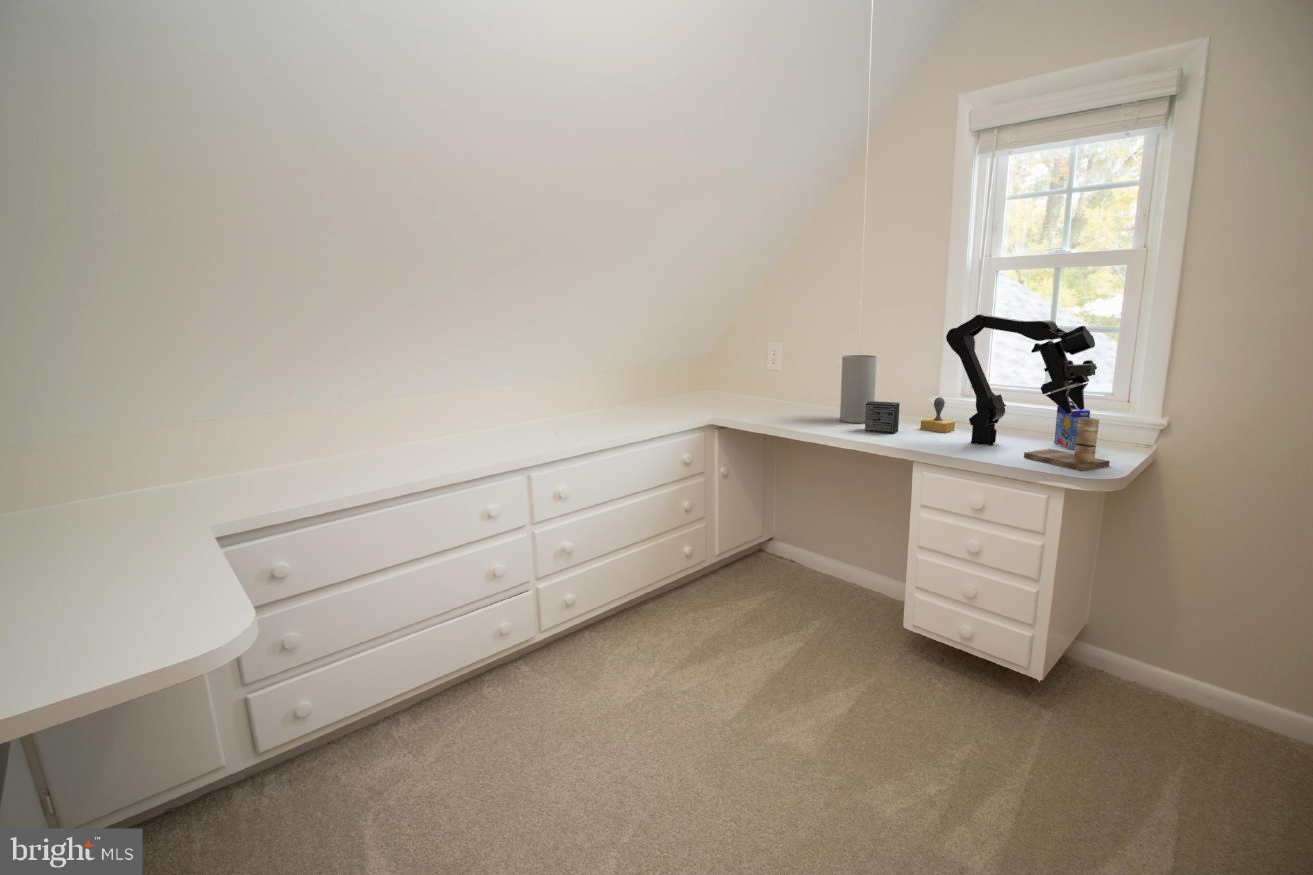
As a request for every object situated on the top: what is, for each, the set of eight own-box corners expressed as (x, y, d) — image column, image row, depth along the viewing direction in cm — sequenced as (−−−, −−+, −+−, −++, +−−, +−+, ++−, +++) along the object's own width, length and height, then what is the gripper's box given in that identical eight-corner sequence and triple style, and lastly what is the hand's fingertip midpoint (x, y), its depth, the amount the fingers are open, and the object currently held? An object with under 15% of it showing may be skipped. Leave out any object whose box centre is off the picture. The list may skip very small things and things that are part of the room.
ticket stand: (1023, 457, 190) (1025, 437, 189) (1049, 453, 194) (1051, 433, 193) (1082, 471, 174) (1085, 449, 173) (1109, 466, 179) (1111, 444, 177)
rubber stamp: (954, 431, 229) (957, 397, 226) (945, 433, 225) (947, 399, 223) (929, 427, 237) (931, 394, 234) (919, 429, 233) (921, 396, 231)
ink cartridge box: (1052, 442, 208) (1057, 398, 205) (1070, 442, 207) (1075, 398, 204) (1068, 449, 198) (1073, 403, 195) (1087, 449, 198) (1093, 402, 195)
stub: (1075, 442, 180) (1078, 418, 178) (1081, 441, 181) (1084, 417, 179) (1090, 445, 176) (1093, 420, 175) (1096, 444, 177) (1099, 419, 176)
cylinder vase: (857, 416, 260) (859, 354, 254) (880, 421, 249) (883, 356, 243) (833, 420, 254) (835, 356, 249) (855, 425, 243) (858, 358, 238)
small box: (899, 431, 231) (900, 402, 229) (894, 434, 226) (896, 404, 224) (868, 428, 237) (870, 400, 235) (864, 431, 232) (865, 402, 229)
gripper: (1072, 352, 177) (1094, 406, 175) (1097, 348, 188) (1118, 398, 186) (1031, 367, 186) (1051, 418, 184) (1058, 362, 197) (1077, 410, 195)
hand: (1076, 411), depth 187 cm, fingers open, 9 cm apart
